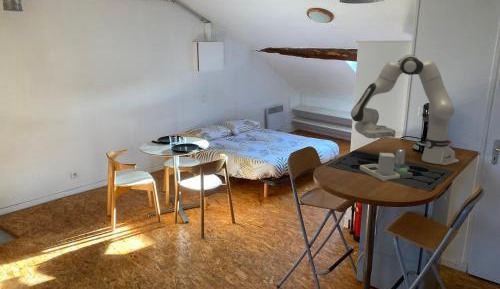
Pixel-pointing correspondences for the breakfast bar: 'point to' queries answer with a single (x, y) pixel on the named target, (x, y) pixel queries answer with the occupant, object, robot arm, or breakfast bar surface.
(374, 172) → the white open frame
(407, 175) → the button housing
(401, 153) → the cylinder
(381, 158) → the supplement box
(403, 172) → the button
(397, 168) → the tray
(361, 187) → the breakfast bar surface
